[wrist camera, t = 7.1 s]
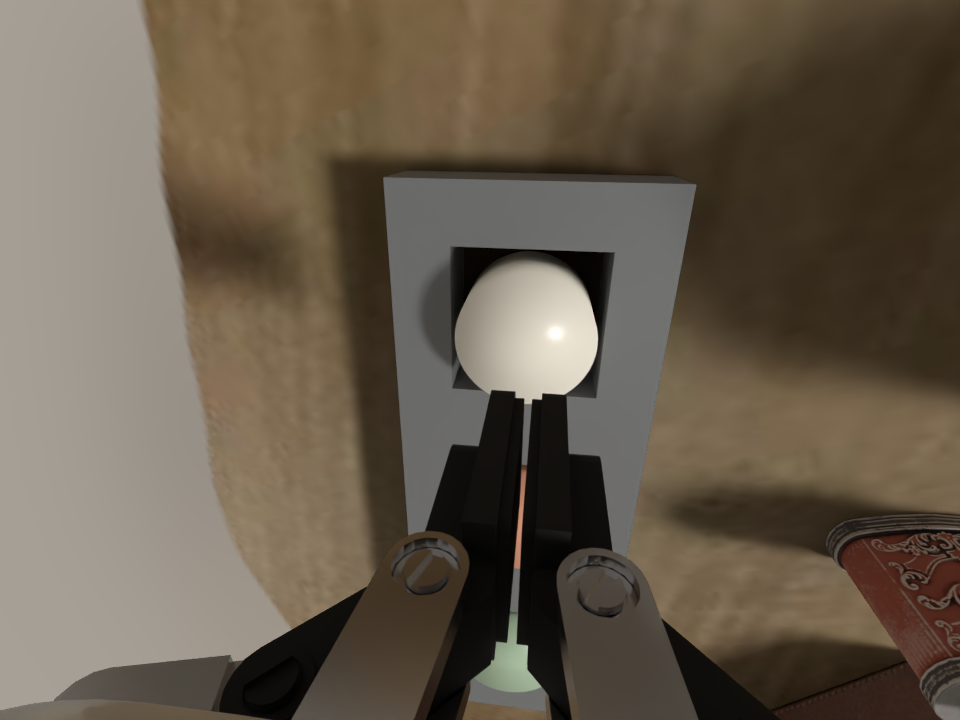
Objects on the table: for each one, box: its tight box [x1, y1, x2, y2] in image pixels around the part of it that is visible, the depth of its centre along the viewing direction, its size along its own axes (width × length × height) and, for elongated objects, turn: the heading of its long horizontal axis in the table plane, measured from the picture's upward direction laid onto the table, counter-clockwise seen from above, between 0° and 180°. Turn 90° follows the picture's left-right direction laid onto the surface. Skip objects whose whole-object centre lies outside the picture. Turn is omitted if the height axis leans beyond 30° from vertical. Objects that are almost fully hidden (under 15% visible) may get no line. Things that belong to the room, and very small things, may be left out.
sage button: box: [474, 612, 541, 692], centre depth 26 cm, size 5×5×3 cm
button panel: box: [383, 170, 697, 712], centre depth 23 cm, size 28×10×3 cm, turn 179°
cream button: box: [455, 251, 598, 404], centre depth 18 cm, size 5×5×3 cm
